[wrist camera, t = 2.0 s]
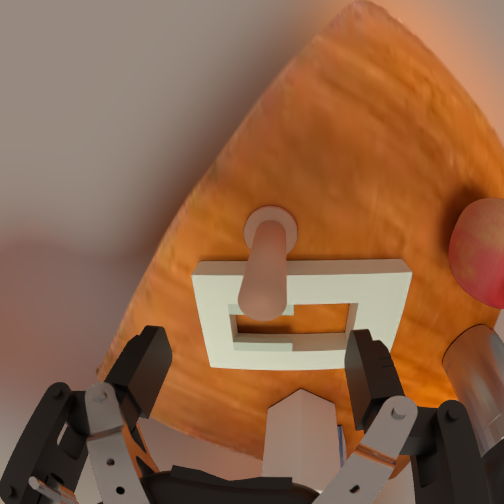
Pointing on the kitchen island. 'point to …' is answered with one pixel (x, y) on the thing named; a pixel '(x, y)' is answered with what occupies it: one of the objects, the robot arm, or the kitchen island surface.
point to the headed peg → (267, 262)
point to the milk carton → (302, 441)
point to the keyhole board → (298, 292)
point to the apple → (480, 251)
